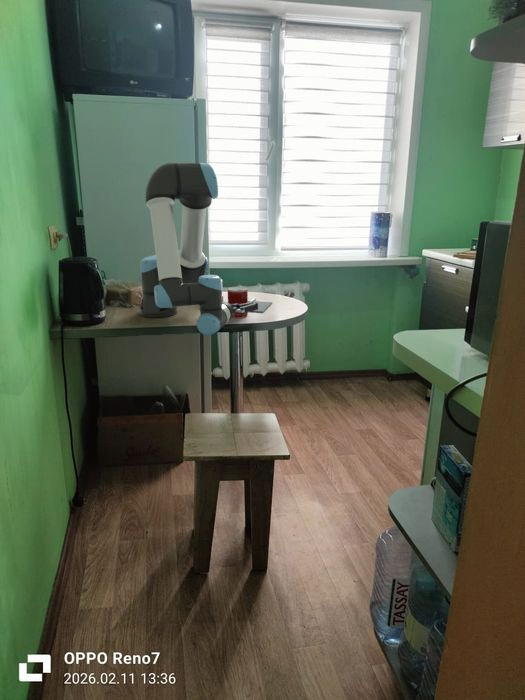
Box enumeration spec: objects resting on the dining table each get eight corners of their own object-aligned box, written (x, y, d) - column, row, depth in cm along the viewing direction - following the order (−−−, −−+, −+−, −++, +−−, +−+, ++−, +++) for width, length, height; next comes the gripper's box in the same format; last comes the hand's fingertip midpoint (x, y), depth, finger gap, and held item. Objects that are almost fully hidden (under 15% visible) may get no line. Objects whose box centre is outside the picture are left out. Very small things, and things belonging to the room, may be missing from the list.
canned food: (245, 318, 195) (245, 291, 192) (226, 317, 197) (225, 290, 193) (249, 313, 202) (249, 286, 199) (231, 312, 204) (230, 286, 200)
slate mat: (221, 310, 207) (221, 308, 207) (233, 301, 222) (233, 300, 222) (263, 312, 203) (263, 311, 203) (272, 303, 218) (272, 302, 217)
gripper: (189, 321, 182) (209, 307, 201) (254, 326, 176) (268, 311, 195) (188, 301, 180) (208, 289, 199) (254, 305, 174) (268, 292, 193)
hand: (238, 300), depth 197 cm, fingers open, 13 cm apart
